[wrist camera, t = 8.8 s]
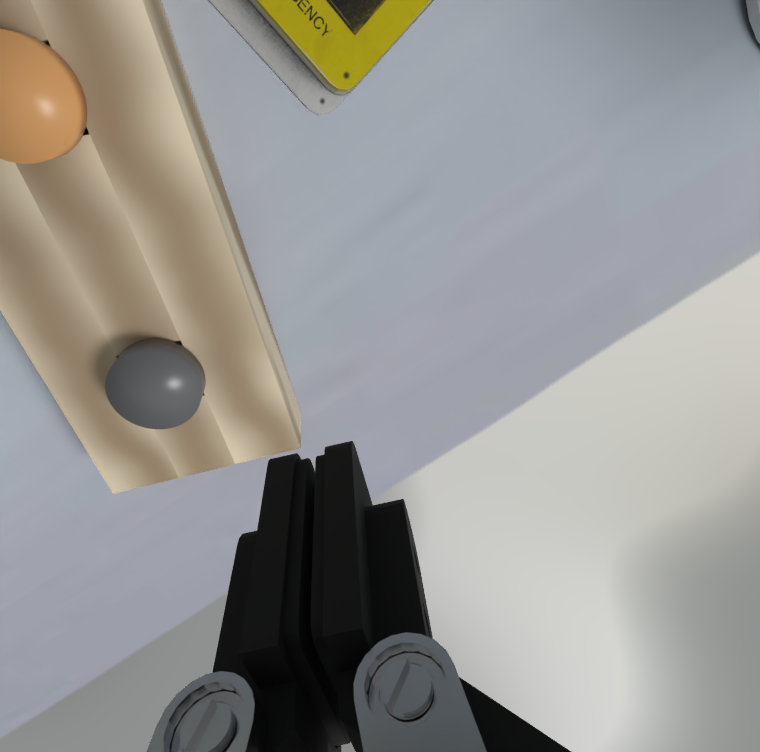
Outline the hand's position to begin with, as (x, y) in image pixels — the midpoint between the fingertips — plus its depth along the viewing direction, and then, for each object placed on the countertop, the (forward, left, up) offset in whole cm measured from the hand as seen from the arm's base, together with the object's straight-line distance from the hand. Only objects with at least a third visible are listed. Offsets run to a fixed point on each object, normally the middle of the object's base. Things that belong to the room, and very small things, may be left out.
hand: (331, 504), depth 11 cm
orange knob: (+10, -9, -23) cm, 26 cm away
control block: (+10, -2, -23) cm, 25 cm away
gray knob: (+10, +5, -23) cm, 25 cm away
